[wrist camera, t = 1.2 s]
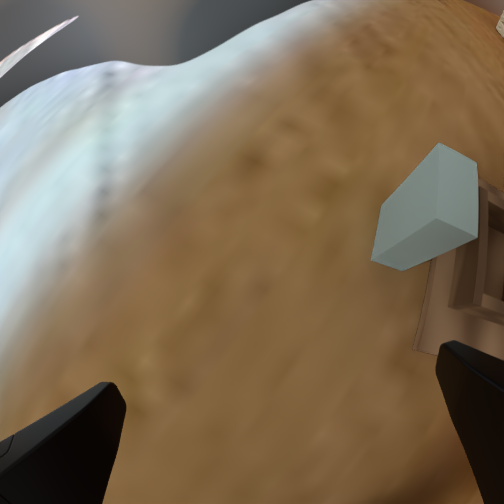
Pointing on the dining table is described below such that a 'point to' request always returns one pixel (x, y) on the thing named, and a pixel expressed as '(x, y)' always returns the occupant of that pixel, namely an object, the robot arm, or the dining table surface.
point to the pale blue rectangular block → (429, 211)
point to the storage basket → (501, 25)
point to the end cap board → (468, 286)
